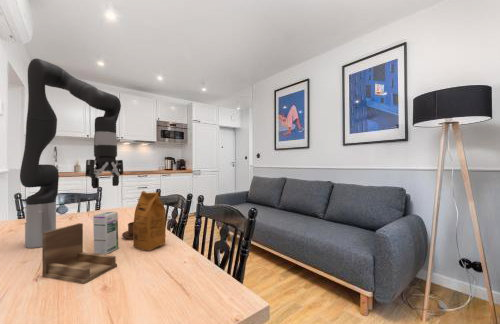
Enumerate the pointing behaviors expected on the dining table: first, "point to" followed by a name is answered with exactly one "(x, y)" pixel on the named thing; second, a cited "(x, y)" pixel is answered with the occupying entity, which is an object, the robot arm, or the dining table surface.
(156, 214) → the coffee package
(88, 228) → the dining table surface
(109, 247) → the syrup box
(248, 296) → the dining table surface
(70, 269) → the small wooden shelf
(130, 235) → the cup and saucer
